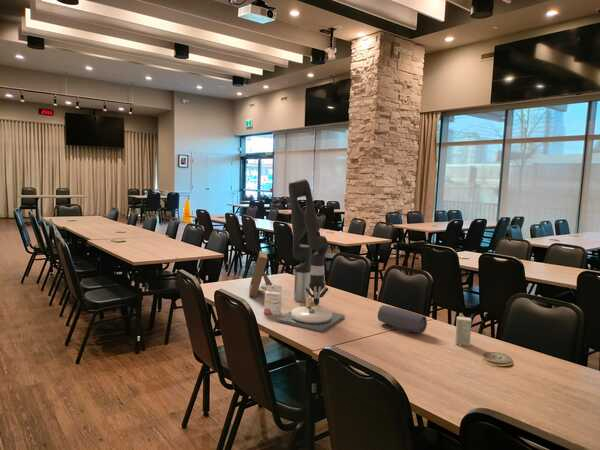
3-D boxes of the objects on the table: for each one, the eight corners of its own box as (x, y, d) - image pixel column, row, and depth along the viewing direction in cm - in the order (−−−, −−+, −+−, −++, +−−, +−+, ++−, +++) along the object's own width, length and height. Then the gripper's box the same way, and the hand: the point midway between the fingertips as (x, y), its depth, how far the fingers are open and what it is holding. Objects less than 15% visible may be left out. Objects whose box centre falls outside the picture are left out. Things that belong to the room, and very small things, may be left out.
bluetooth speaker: (426, 333, 202) (428, 313, 201) (417, 338, 196) (419, 317, 195) (386, 321, 218) (387, 302, 217) (376, 325, 211) (377, 306, 210)
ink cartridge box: (263, 314, 221) (264, 287, 220) (265, 311, 226) (266, 284, 225) (279, 315, 221) (280, 288, 219) (281, 312, 226) (282, 285, 224)
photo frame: (249, 297, 252) (250, 256, 249) (249, 288, 273) (251, 250, 271) (273, 297, 253) (275, 257, 251) (272, 288, 275) (274, 251, 272)
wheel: (295, 308, 228) (296, 295, 227) (333, 312, 224) (334, 299, 223) (287, 320, 207) (287, 306, 206) (329, 325, 203) (329, 311, 202)
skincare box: (469, 343, 191) (471, 317, 190) (469, 347, 187) (472, 320, 186) (454, 341, 193) (456, 315, 192) (454, 344, 189) (457, 318, 188)
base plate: (301, 308, 233) (301, 304, 233) (344, 317, 220) (344, 313, 220) (276, 321, 210) (276, 317, 210) (322, 332, 198) (322, 327, 198)
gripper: (327, 271, 227) (326, 302, 229) (303, 271, 225) (302, 303, 227) (330, 274, 220) (329, 306, 222) (306, 275, 218) (305, 307, 220)
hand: (316, 304), depth 224 cm, fingers closed
